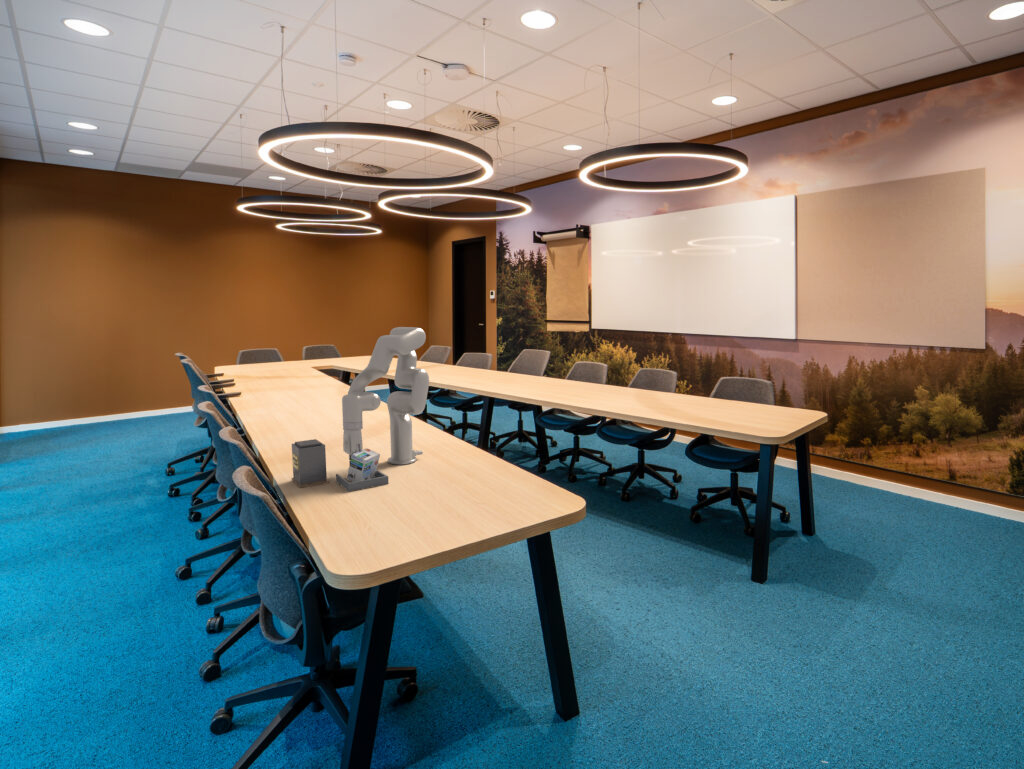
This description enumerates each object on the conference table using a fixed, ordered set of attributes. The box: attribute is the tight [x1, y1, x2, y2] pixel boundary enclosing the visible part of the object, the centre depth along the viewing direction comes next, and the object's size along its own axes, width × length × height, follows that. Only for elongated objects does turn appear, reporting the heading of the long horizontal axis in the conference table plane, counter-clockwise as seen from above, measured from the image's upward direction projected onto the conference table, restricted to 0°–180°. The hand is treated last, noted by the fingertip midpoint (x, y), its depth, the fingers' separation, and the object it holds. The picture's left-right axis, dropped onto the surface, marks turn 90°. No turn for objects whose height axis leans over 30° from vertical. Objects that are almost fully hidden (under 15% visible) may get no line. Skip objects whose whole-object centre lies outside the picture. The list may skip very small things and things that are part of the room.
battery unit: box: [290, 438, 330, 489], centre depth 212 cm, size 11×12×16 cm
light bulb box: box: [345, 448, 381, 482], centre depth 212 cm, size 11×7×11 cm, turn 162°
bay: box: [335, 468, 389, 492], centre depth 211 cm, size 16×15×3 cm
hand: (354, 470), depth 216 cm, fingers closed
